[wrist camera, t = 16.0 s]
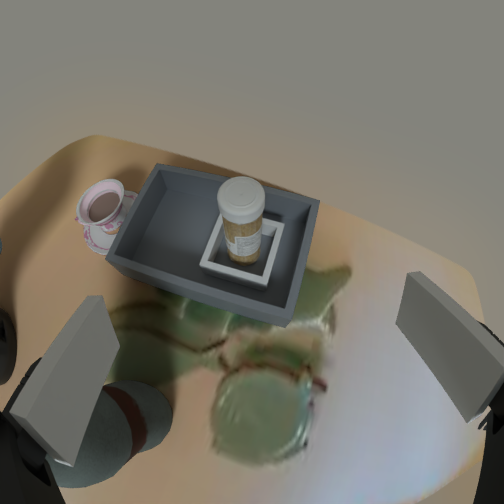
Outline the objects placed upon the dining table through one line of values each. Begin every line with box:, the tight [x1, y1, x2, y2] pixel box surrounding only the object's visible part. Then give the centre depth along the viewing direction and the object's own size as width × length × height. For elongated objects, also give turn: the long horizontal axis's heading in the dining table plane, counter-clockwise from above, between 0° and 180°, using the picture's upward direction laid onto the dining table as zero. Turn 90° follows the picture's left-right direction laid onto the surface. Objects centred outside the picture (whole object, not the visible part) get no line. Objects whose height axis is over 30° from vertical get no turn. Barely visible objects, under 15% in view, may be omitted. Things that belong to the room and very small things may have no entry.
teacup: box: [75, 179, 138, 255], centre depth 38 cm, size 12×12×6 cm
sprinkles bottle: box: [217, 176, 265, 266], centre depth 32 cm, size 5×5×14 cm
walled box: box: [105, 163, 320, 328], centre depth 36 cm, size 24×16×6 cm, turn 73°
